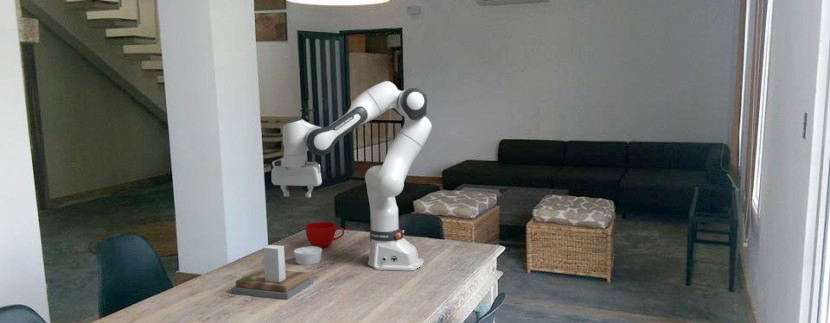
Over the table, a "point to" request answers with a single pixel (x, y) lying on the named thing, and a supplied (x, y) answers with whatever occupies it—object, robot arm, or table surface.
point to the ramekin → (308, 255)
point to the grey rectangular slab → (273, 293)
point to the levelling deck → (258, 282)
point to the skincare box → (274, 263)
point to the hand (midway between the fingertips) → (297, 196)
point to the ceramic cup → (321, 234)
